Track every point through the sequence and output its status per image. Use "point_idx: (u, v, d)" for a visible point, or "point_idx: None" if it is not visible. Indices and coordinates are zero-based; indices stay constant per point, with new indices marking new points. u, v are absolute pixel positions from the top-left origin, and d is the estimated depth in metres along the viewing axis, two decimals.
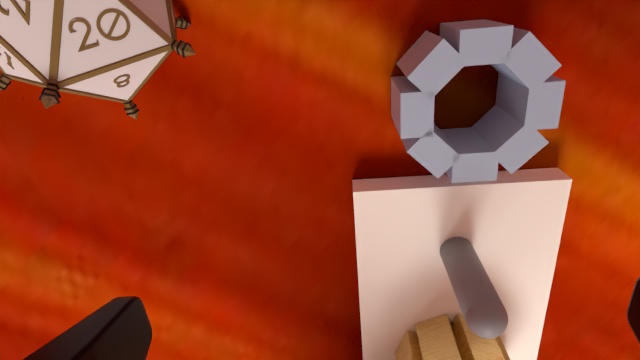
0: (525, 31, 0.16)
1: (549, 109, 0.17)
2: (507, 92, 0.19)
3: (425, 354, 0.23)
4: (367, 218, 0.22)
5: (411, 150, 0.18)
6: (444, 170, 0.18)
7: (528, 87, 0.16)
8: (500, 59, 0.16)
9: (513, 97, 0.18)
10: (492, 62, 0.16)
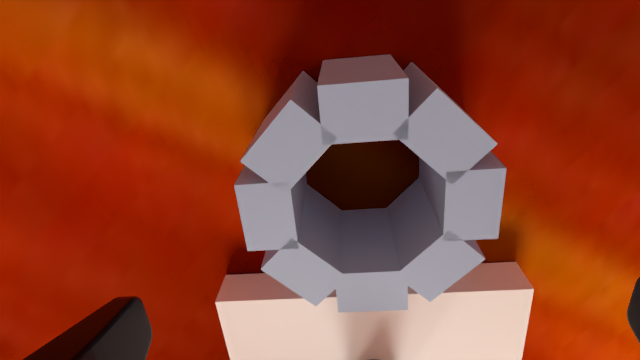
0: (433, 86, 0.09)
1: (482, 211, 0.10)
2: (427, 168, 0.12)
3: None
4: (241, 335, 0.15)
5: (267, 267, 0.11)
6: (324, 295, 0.11)
7: (444, 177, 0.10)
8: (392, 133, 0.09)
9: (432, 180, 0.11)
10: (379, 138, 0.09)
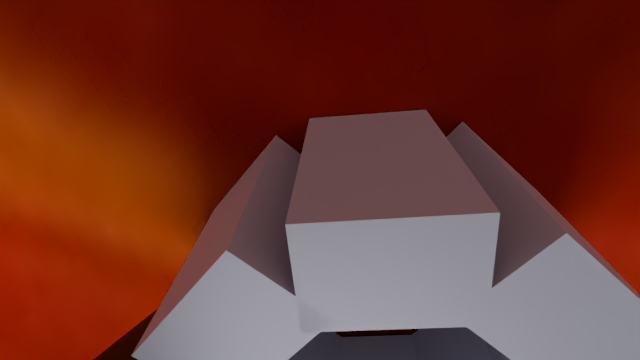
0: (547, 221, 0.04)
1: None
2: None
3: None
4: None
5: None
6: None
7: None
8: (452, 315, 0.04)
9: None
10: (423, 323, 0.04)
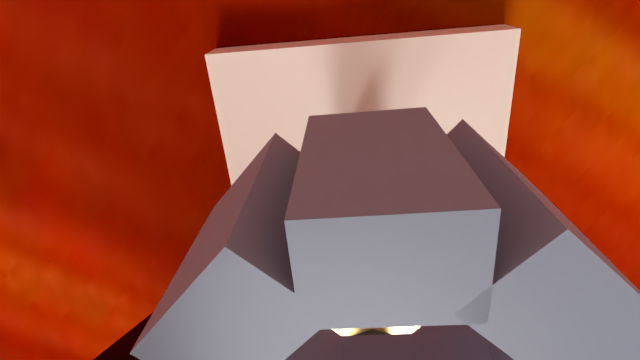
0: (548, 217, 0.04)
1: None
2: None
3: None
4: (231, 98, 0.15)
5: None
6: None
7: None
8: (452, 312, 0.04)
9: None
10: (423, 320, 0.04)
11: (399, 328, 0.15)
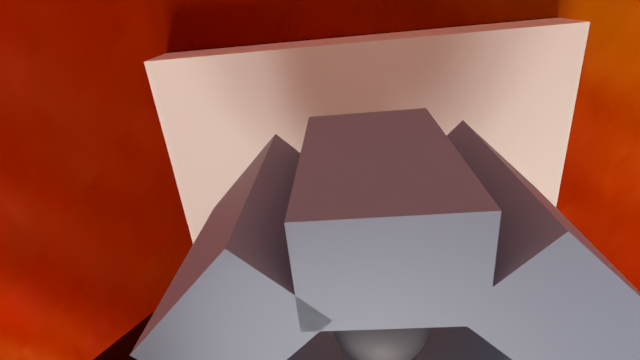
0: (548, 219, 0.04)
1: None
2: None
3: None
4: (184, 120, 0.11)
5: None
6: None
7: None
8: (453, 314, 0.04)
9: None
10: (423, 323, 0.04)
11: None
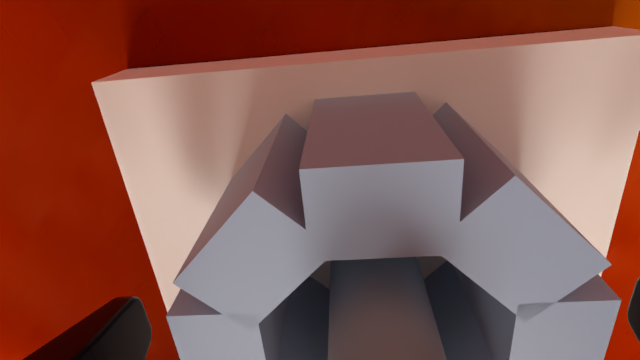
0: (503, 169, 0.05)
1: None
2: None
3: None
4: (146, 155, 0.09)
5: None
6: None
7: (514, 311, 0.06)
8: (430, 246, 0.05)
9: (480, 287, 0.07)
10: (407, 253, 0.05)
11: None
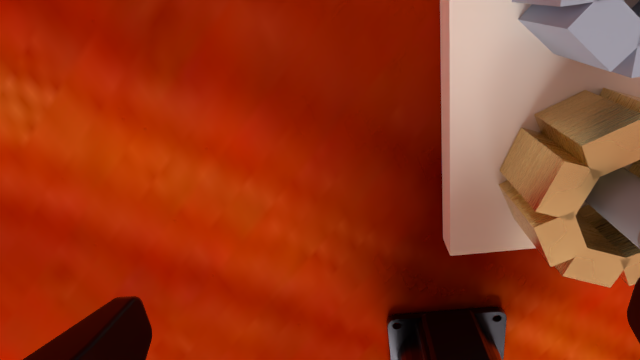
0: None
1: None
2: None
3: (569, 131, 0.14)
4: None
5: (575, 26, 0.11)
6: (622, 57, 0.12)
7: None
8: None
9: None
10: None
11: None
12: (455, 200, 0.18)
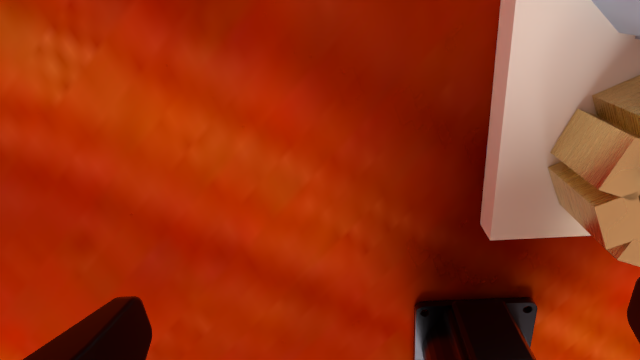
0: None
1: None
2: None
3: (636, 109, 0.14)
4: None
5: None
6: None
7: None
8: None
9: None
10: None
11: None
12: (502, 182, 0.18)
